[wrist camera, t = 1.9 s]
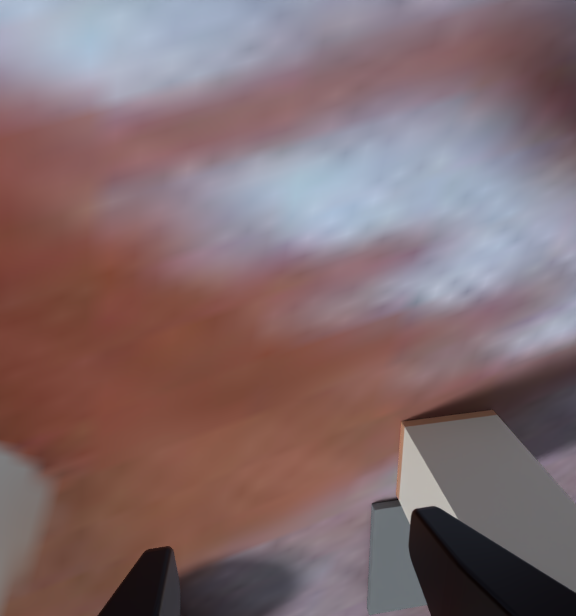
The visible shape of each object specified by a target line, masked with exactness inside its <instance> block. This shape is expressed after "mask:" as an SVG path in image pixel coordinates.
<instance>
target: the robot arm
mask: <svg viewBox="0 0 576 616" xmlns="http://www.w3.org/2000/svg"><path fill="white" fill-rule="evenodd" d="M408 547H409V554H410V558H411V562H412V565H413V567H414V570H415V573H416V576H417V578H418V581H419V584H420V586H421V589H422V592H423V595H424V597H425V600H426V603H427V606H428V608H429V611H430V614H431V616H576V592H574V591H572V590H571V589H569V588H568V587H566V586H564V585H563V584H561V583H560V582H558V581H556V580H555V579H553V578H551V577H550V576H548V575H547V574H545V573H543V572H542V571H540V570H539V569H537V568H535V567H534V566H532V565H531V564H529V563H527V562H526V561H524V560H523V559H521V558H519V557H518V556H516V555H515V554H513V553H511V552H510V551H508V550H506V549H505V548H503V547H502V546H500V545H498V544H497V543H495V542H494V541H492V540H490V539H489V538H487V537H486V536H484V535H482V534H481V533H479V532H478V531H476V530H474V529H473V528H471V527H470V526H468V525H466V524H465V523H463V522H461V521H460V520H458V519H457V518H455V517H453V516H452V515H450V514H449V513H447V512H445V511H444V510H442V509H441V508H438V507H436V506H429V507H422V508H416V509H414V510H413V511H412V514H411V521H410V532H409V542H408ZM98 616H180V583H179V577H178V572H177V567H176V561H175V556H174V551H173V549H172V548H171V547H169V546H166V547H160V548H153V549H148V550H146V551H145V552H144V553H143V554H142V556H141V557H140V558H139V560H138V561H137V562H136V564H135V565H134V567H133V568H132V569H131V571H130V572H129V573H128V575H127V576H126V578H125V579H124V580H123V582H122V583H121V584H120V586H119V587H118V588H117V590H116V591H115V593H114V594H113V595H112V597H111V598H110V599H109V601H108V602H107V604H106V605H105V606H104V608H103V609H102V610H101V612H100V613H99V615H98Z"/></svg>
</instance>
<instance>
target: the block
mask: <svg viewBox="0 0 576 616" xmlns="http://www.w3.org/2000/svg"><path fill="white" fill-rule="evenodd" d="M396 495H397V498H398V500H399V502H400V504H401V506H402V508H403V510H404V513H405V515H406V517H407V519H408V521H409V523H410V521H411V514H412V511H413V510H414V509H416V508H422V507H429V506H436V507H438V508H441V509H442V510H444V511H445V512H447V513H449V514H450V515H452V516H453V517H455V518H457V519H458V520H460V521H461V522H463V523H465V524H466V525H468V526H470V527H471V528H473V529H474V530H476V531H478V532H479V533H481V534H482V535H484V536H486V537H487V538H489V539H490V540H492V541H494V542H495V543H497V544H498V545H500V546H502V547H503V548H505V549H506V550H508V551H510V552H511V553H513V554H515V555H516V556H518V557H519V558H521V559H523V560H524V561H526V562H527V563H529V564H531V565H532V566H534V567H535V568H537V569H539V570H540V571H542V572H543V573H545V574H547V575H548V576H550V577H551V578H553V579H555V580H556V581H558V582H560V583H561V584H563V585H564V586H566V587H568V588H569V589H571V590H572V591H574V592H576V504H575V503H574V502H573V500H572V499H571V498H570V497H569V496H568V495H567V494H566V493H565V491H564V490H563V489H562V488H561V487H560V486H559V485H558V483H557V482H556V481H555V480H554V479H553V478H552V477H551V475H550V474H549V473H548V472H547V471H546V470H545V469H544V467H543V466H542V465H541V464H540V463H539V462H538V461H537V460H536V458H535V457H534V456H533V455H532V454H531V453H530V452H529V450H528V449H527V448H526V447H525V446H524V445H523V444H522V442H521V441H520V440H519V439H518V438H517V437H516V436H515V435H514V433H513V432H512V431H511V430H510V429H509V428H508V427H507V425H506V424H505V423H504V422H503V421H502V420H501V419H500V417H499V416H498V415H497V414H496V413H495V412H494V411H493V410H487V411H479V412H471V413H464V414H456V415H448V416H441V417H433V418H425V419H417V420H410V421H402V422H401V435H400V448H399V462H398V475H397V489H396Z"/></svg>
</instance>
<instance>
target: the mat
mask: <svg viewBox="0 0 576 616" xmlns="http://www.w3.org/2000/svg"><path fill="white" fill-rule="evenodd" d="M409 532H410V523H409V521H408V519H407V517H406V515H405V513H404V510H403V508H402V506H401V504H400V502H399V500H395V501H388V502H381V503H375V504H372V513H371V534H370V556H369V577H368V598H367V610H368V613H369V615H373V614H378V613H384V612H390V611H395V610H401V609H406V608H412V607H418V606H423V605H427V603H426V600H425V597H424V595H423V592H422V589H421V586H420V584H419V581H418V578H417V576H416V573H415V570H414V567H413V565H412V562H411V558H410V554H409V547H408V542H409Z"/></svg>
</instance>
